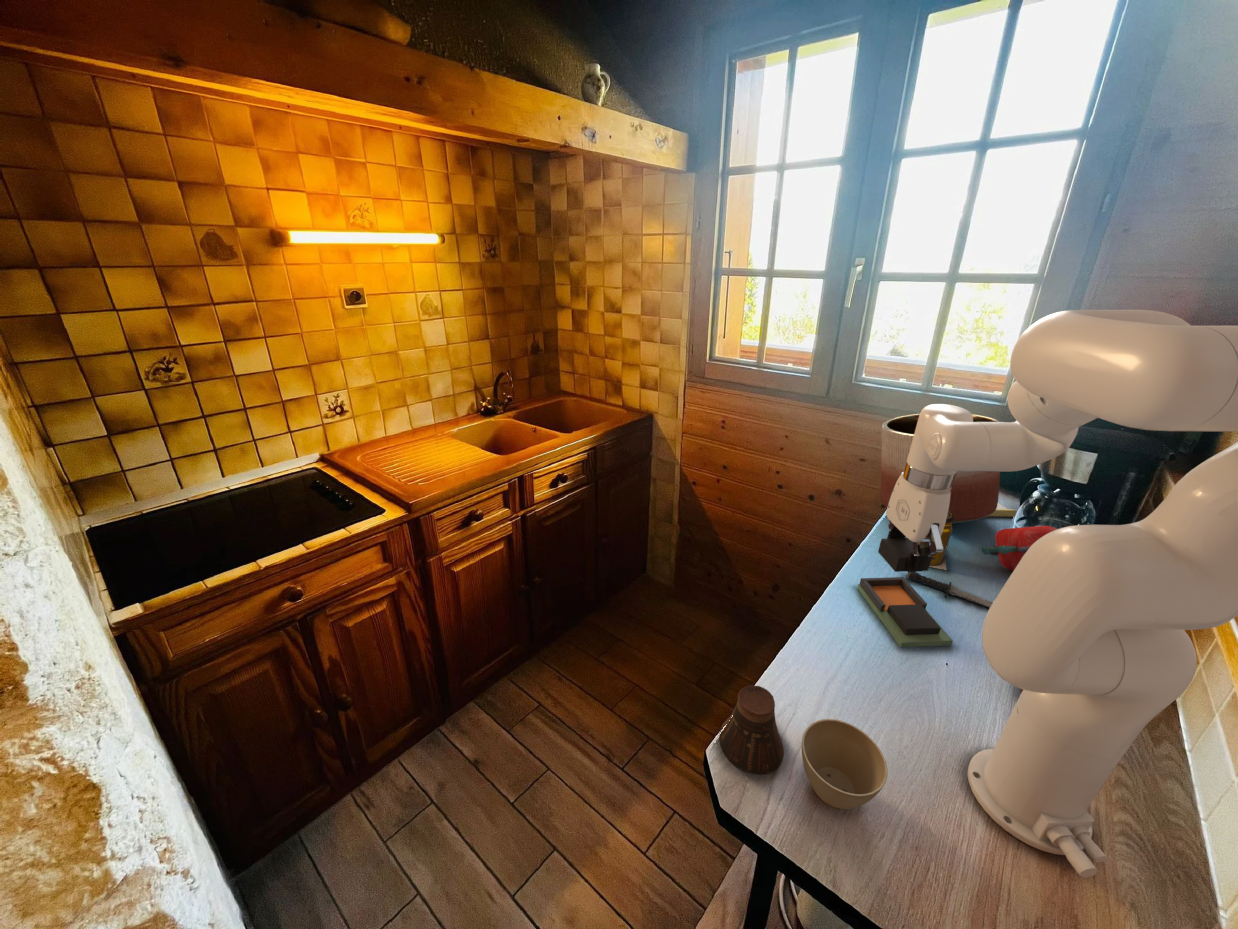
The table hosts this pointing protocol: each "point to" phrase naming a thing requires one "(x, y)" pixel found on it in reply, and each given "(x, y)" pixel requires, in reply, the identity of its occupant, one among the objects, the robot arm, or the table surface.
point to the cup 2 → (753, 732)
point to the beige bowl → (842, 763)
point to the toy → (1015, 544)
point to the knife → (947, 588)
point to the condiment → (939, 558)
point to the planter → (969, 490)
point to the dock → (903, 612)
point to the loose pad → (898, 553)
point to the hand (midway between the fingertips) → (903, 558)
